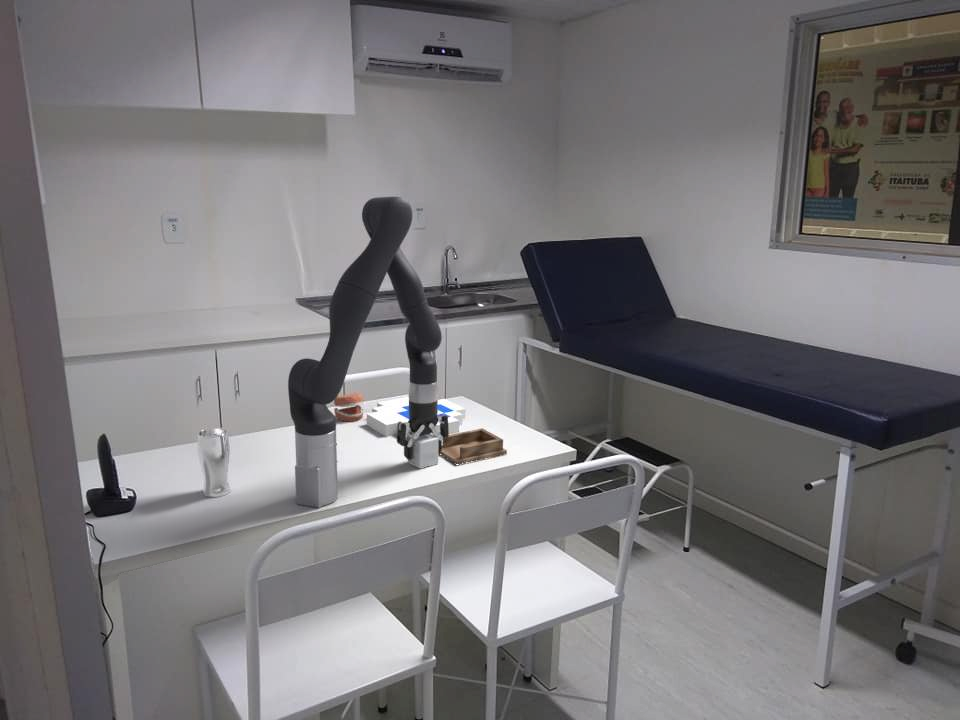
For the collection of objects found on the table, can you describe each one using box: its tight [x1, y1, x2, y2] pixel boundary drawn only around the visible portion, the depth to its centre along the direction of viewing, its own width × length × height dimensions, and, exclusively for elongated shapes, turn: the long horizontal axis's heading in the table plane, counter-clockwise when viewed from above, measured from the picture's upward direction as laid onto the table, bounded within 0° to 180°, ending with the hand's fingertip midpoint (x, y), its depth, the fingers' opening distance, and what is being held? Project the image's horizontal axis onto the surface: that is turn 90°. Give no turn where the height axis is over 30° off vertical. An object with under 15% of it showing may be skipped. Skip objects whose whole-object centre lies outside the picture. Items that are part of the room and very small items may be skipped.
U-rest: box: [439, 428, 508, 465], centre depth 201 cm, size 16×12×4 cm
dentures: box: [333, 392, 364, 422], centre depth 225 cm, size 9×7×8 cm
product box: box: [407, 435, 439, 470], centre depth 193 cm, size 6×6×7 cm
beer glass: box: [197, 427, 231, 498], centre depth 171 cm, size 7×7×15 cm
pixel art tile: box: [366, 396, 466, 438], centre depth 224 cm, size 28×4×28 cm
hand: (423, 456), depth 193 cm, fingers open, 8 cm apart
